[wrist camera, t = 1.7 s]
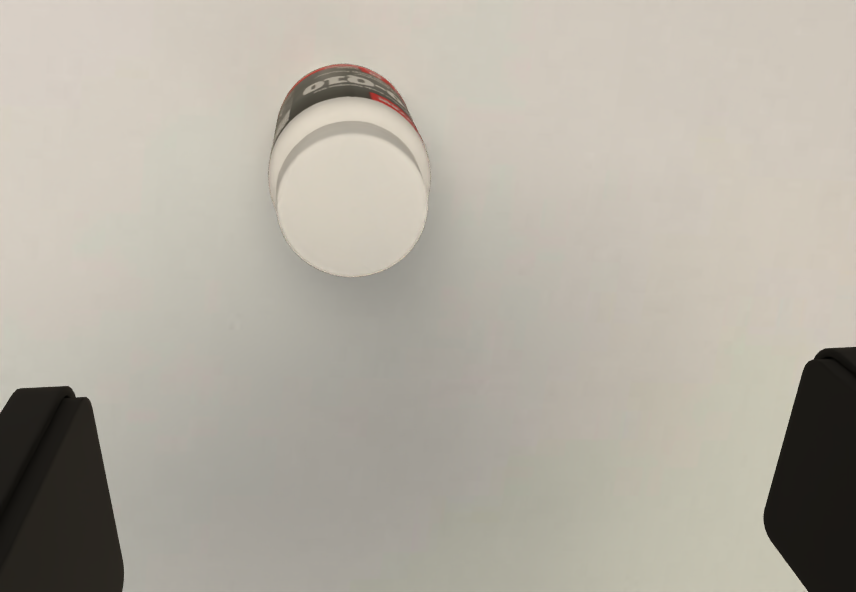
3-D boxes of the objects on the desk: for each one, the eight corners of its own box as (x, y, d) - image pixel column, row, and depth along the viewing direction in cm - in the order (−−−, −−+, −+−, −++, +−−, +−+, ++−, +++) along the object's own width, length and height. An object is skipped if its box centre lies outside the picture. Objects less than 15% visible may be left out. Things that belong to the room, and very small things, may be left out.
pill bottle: (423, 79, 27) (466, 140, 20) (392, 204, 29) (420, 303, 22) (289, 46, 26) (280, 97, 19) (265, 178, 28) (249, 272, 20)
